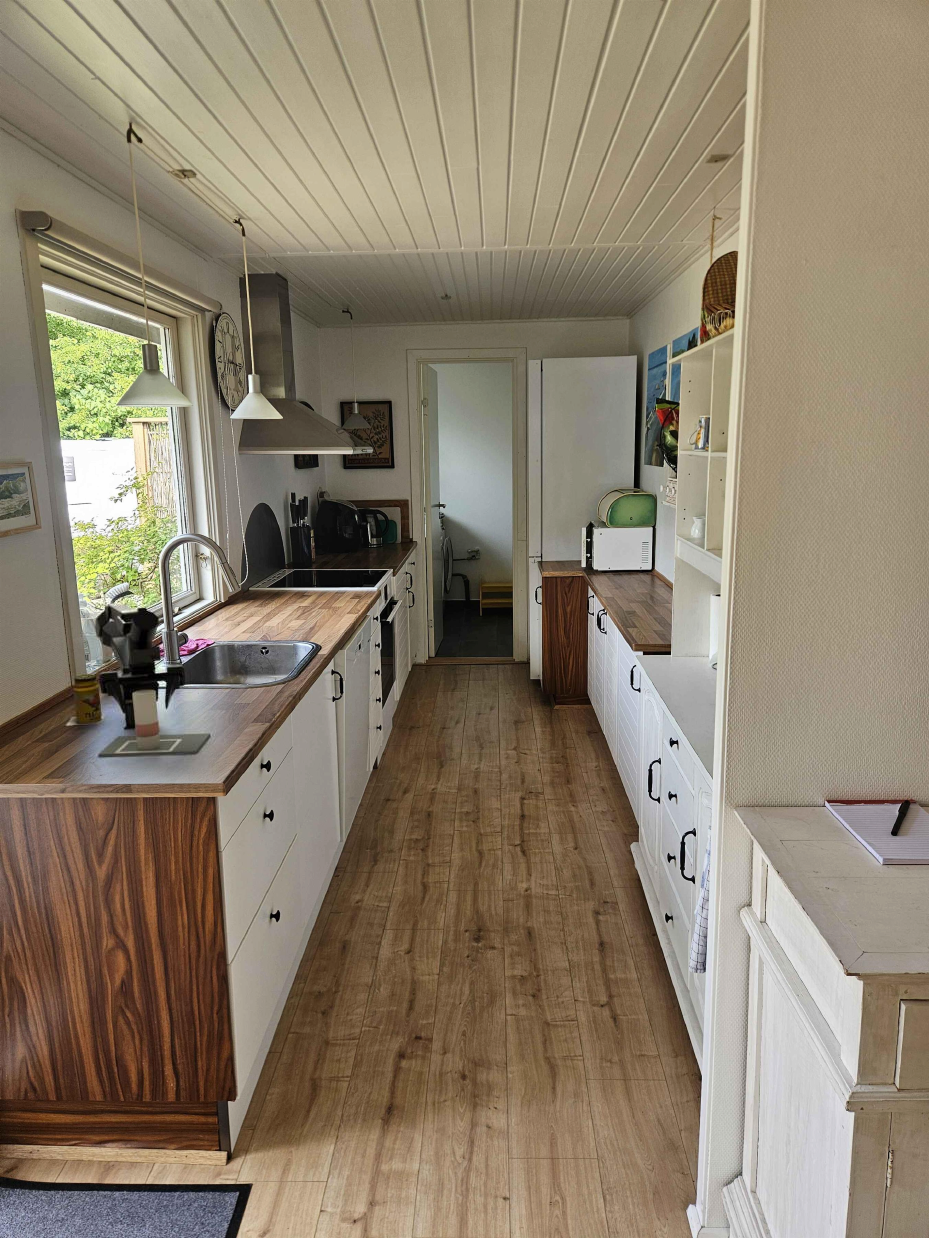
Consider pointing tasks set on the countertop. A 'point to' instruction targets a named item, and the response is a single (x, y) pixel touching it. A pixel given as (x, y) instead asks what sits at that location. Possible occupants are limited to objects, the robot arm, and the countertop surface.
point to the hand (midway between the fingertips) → (145, 710)
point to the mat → (167, 746)
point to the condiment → (86, 701)
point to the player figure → (146, 719)
